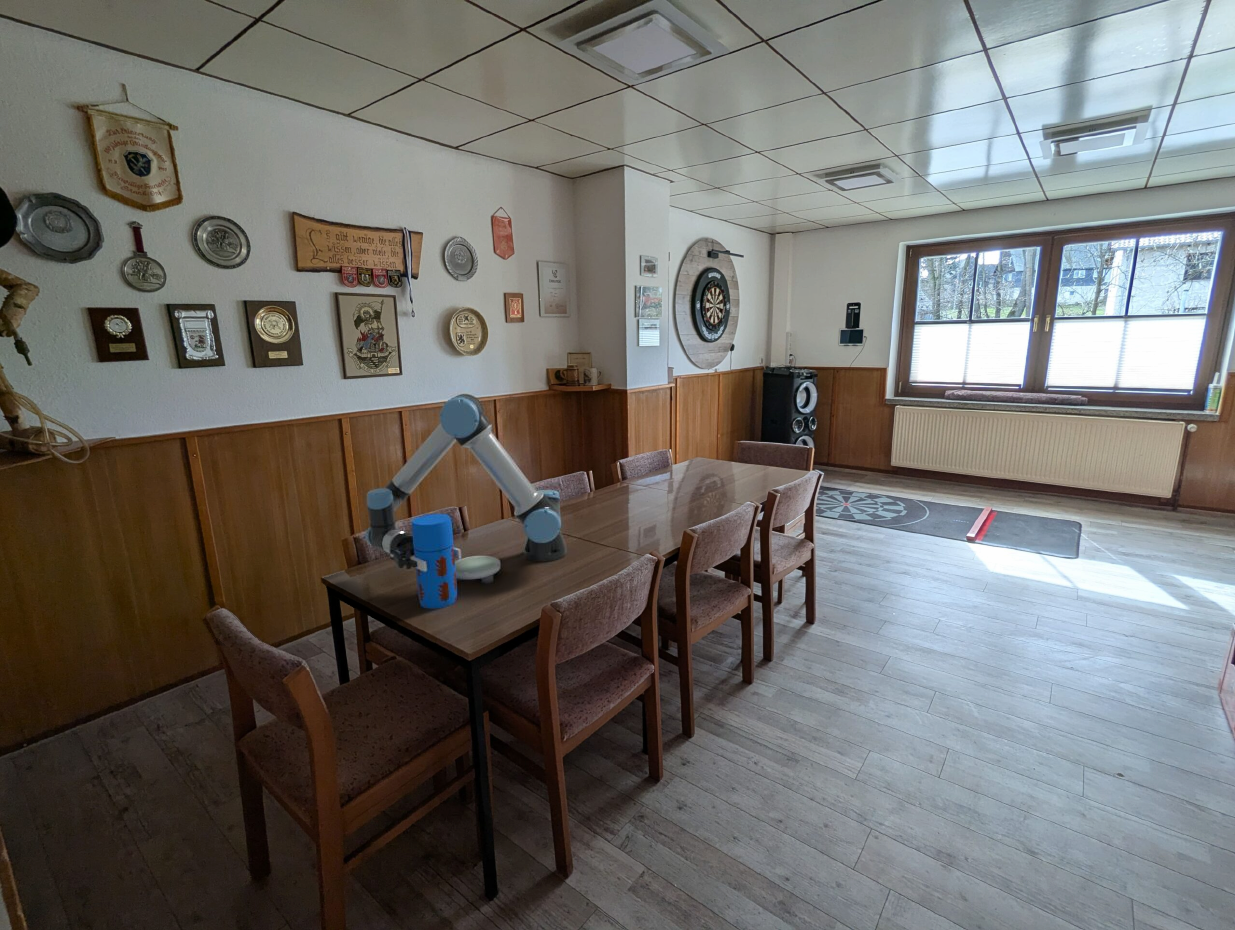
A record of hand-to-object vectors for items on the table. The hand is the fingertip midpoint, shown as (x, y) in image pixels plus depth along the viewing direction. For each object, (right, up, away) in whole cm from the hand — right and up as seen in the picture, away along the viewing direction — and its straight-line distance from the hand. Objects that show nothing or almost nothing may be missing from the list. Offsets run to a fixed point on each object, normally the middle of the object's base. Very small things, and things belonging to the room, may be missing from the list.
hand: (443, 560), depth 163 cm
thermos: (-3, -13, +5) cm, 14 cm away
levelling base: (+4, -9, +22) cm, 24 cm away
